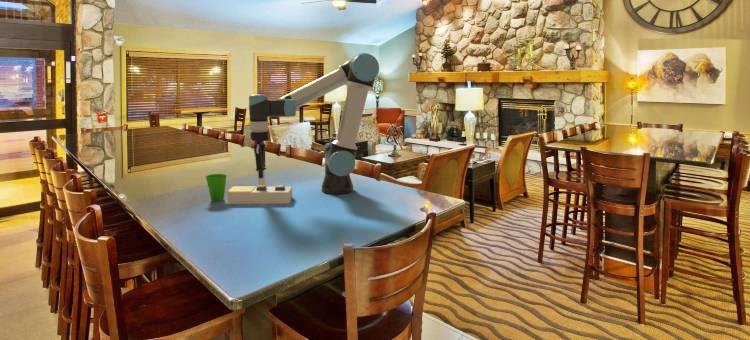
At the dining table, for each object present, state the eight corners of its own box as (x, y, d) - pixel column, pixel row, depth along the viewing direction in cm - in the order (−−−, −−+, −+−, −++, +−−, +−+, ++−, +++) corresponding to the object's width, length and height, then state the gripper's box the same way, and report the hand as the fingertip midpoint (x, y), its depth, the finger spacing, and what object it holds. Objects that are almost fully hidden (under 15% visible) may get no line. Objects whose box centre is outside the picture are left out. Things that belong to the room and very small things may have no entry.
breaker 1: (266, 198, 209) (266, 185, 208) (265, 201, 206) (264, 186, 205) (258, 198, 209) (258, 185, 208) (257, 201, 206) (256, 186, 204)
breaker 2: (285, 198, 210) (284, 184, 209) (284, 200, 206) (283, 186, 205) (276, 198, 210) (276, 185, 208) (275, 200, 206) (275, 186, 205)
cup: (221, 203, 202) (220, 178, 200) (202, 202, 204) (200, 177, 202) (232, 198, 211) (230, 174, 209) (213, 197, 213) (212, 173, 211)
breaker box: (292, 197, 214) (292, 185, 213) (289, 203, 203) (288, 191, 202) (233, 197, 212) (233, 186, 211) (227, 203, 201) (227, 191, 200)
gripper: (253, 129, 208) (256, 181, 212) (247, 132, 195) (249, 188, 200) (270, 129, 208) (272, 181, 213) (265, 132, 196) (267, 188, 200)
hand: (261, 184), depth 206 cm, fingers closed
